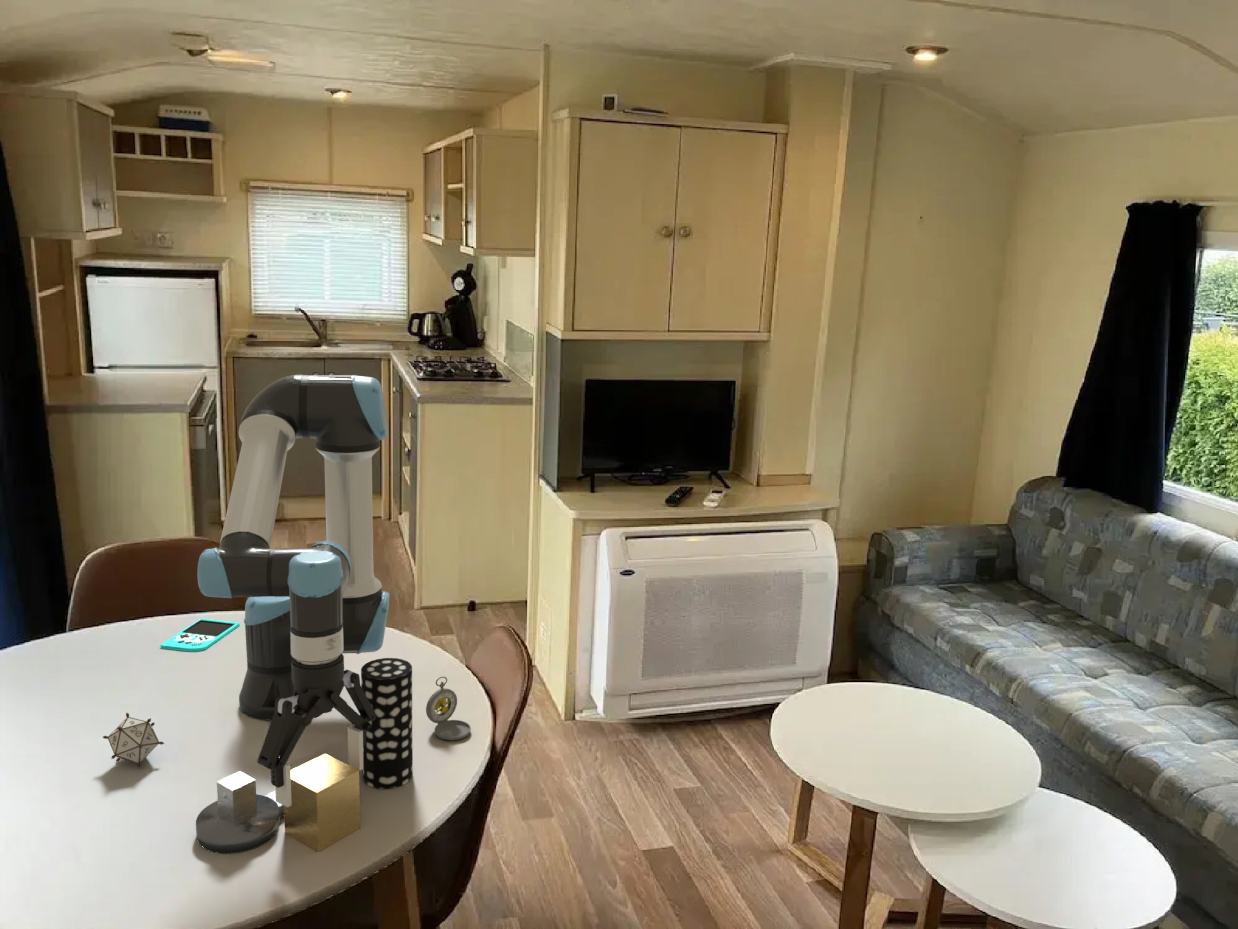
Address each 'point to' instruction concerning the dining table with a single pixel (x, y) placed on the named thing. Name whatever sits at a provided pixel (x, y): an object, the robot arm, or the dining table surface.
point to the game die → (133, 740)
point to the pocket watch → (446, 714)
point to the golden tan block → (323, 802)
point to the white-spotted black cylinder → (388, 723)
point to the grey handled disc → (238, 817)
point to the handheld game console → (200, 635)
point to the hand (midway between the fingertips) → (321, 784)
